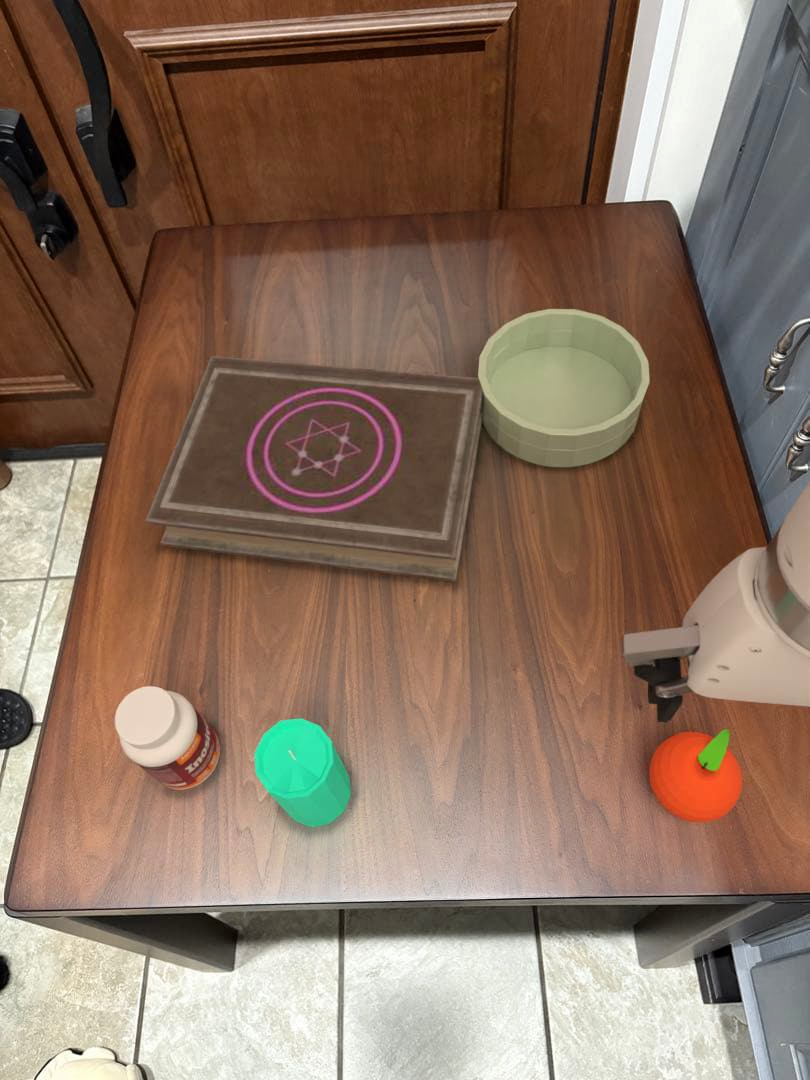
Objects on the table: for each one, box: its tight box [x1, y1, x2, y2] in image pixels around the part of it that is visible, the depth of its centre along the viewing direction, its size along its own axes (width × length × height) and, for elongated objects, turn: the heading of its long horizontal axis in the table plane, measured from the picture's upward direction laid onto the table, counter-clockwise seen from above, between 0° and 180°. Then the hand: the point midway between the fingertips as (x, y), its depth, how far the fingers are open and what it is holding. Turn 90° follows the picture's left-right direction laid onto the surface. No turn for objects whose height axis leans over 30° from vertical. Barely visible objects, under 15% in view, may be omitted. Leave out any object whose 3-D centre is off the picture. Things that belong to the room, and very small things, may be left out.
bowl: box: [477, 308, 651, 468], centre depth 85 cm, size 18×18×6 cm
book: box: [145, 355, 483, 583], centre depth 83 cm, size 30×22×5 cm
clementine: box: [648, 728, 743, 823], centre depth 63 cm, size 8×7×7 cm
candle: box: [253, 717, 352, 828], centre depth 63 cm, size 6×6×12 cm
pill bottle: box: [114, 685, 221, 791], centre depth 65 cm, size 6×6×11 cm
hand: (739, 706), depth 51 cm, fingers open, 9 cm apart
